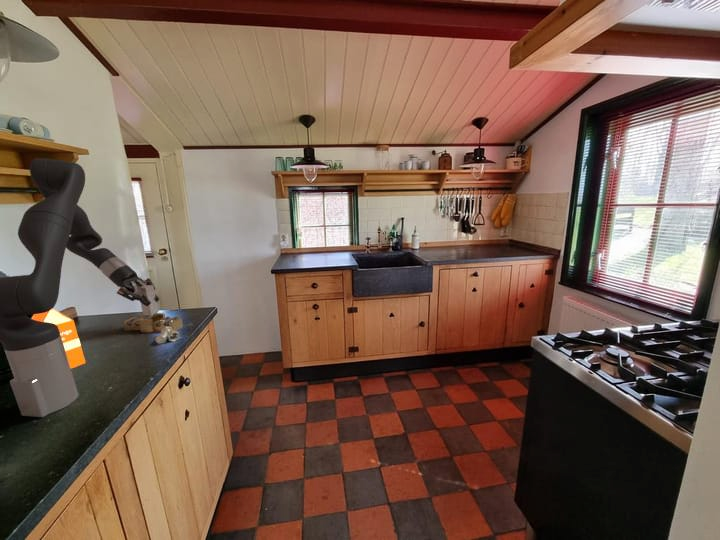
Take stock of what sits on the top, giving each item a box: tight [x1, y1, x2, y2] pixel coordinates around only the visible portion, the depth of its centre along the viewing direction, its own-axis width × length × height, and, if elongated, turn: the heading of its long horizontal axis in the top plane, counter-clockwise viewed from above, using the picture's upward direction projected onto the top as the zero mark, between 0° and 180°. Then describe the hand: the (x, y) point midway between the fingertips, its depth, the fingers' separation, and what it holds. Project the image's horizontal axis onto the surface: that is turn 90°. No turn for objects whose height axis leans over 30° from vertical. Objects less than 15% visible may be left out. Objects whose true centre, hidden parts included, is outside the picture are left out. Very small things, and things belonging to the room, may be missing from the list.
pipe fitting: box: [155, 326, 181, 345], centre depth 108 cm, size 8×4×7 cm
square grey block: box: [137, 284, 159, 316], centre depth 115 cm, size 4×4×11 cm
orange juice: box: [30, 308, 86, 369], centre depth 90 cm, size 8×9×20 cm
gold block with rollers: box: [122, 312, 184, 333], centre depth 117 cm, size 7×21×5 cm, turn 83°
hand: (153, 302), depth 115 cm, fingers closed on square grey block, 3 cm apart
